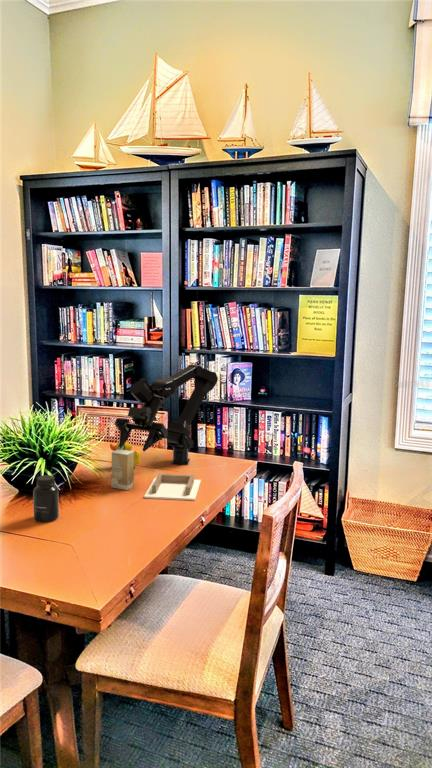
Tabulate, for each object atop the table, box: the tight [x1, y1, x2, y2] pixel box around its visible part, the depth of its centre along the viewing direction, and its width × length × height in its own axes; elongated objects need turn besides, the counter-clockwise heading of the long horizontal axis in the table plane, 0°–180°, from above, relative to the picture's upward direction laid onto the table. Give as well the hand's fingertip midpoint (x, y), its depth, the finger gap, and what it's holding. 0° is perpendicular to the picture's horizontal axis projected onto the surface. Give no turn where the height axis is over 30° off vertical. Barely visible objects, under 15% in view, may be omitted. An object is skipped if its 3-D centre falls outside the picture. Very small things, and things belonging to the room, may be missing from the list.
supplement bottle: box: [32, 474, 60, 524], centre depth 156 cm, size 7×7×12 cm
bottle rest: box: [143, 473, 202, 501], centre depth 182 cm, size 18×16×3 cm
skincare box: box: [110, 449, 135, 491], centre depth 182 cm, size 6×4×12 cm
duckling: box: [109, 440, 142, 467], centre depth 203 cm, size 11×5×10 cm, turn 86°
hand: (131, 448), depth 186 cm, fingers open, 9 cm apart
